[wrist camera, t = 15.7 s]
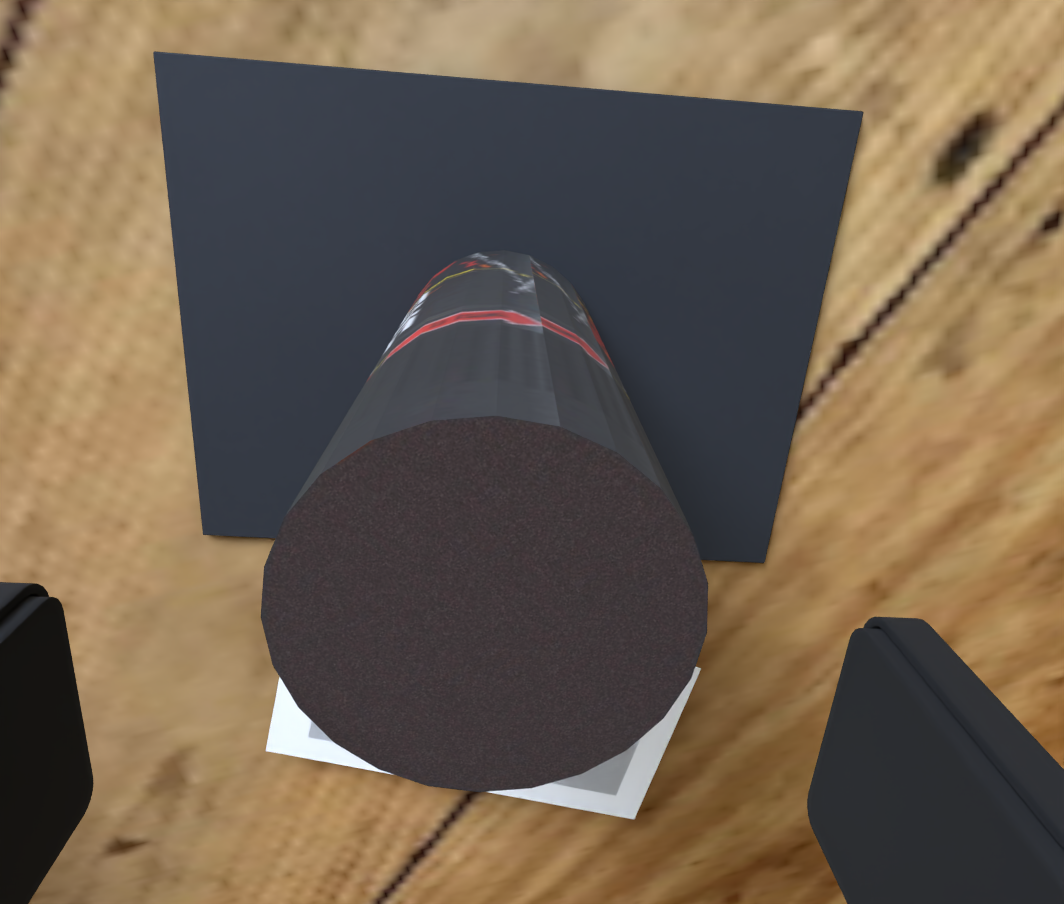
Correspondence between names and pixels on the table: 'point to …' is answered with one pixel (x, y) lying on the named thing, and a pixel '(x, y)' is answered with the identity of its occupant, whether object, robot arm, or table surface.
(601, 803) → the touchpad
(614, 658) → the deodorant
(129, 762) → the table surface
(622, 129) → the mouse mat
